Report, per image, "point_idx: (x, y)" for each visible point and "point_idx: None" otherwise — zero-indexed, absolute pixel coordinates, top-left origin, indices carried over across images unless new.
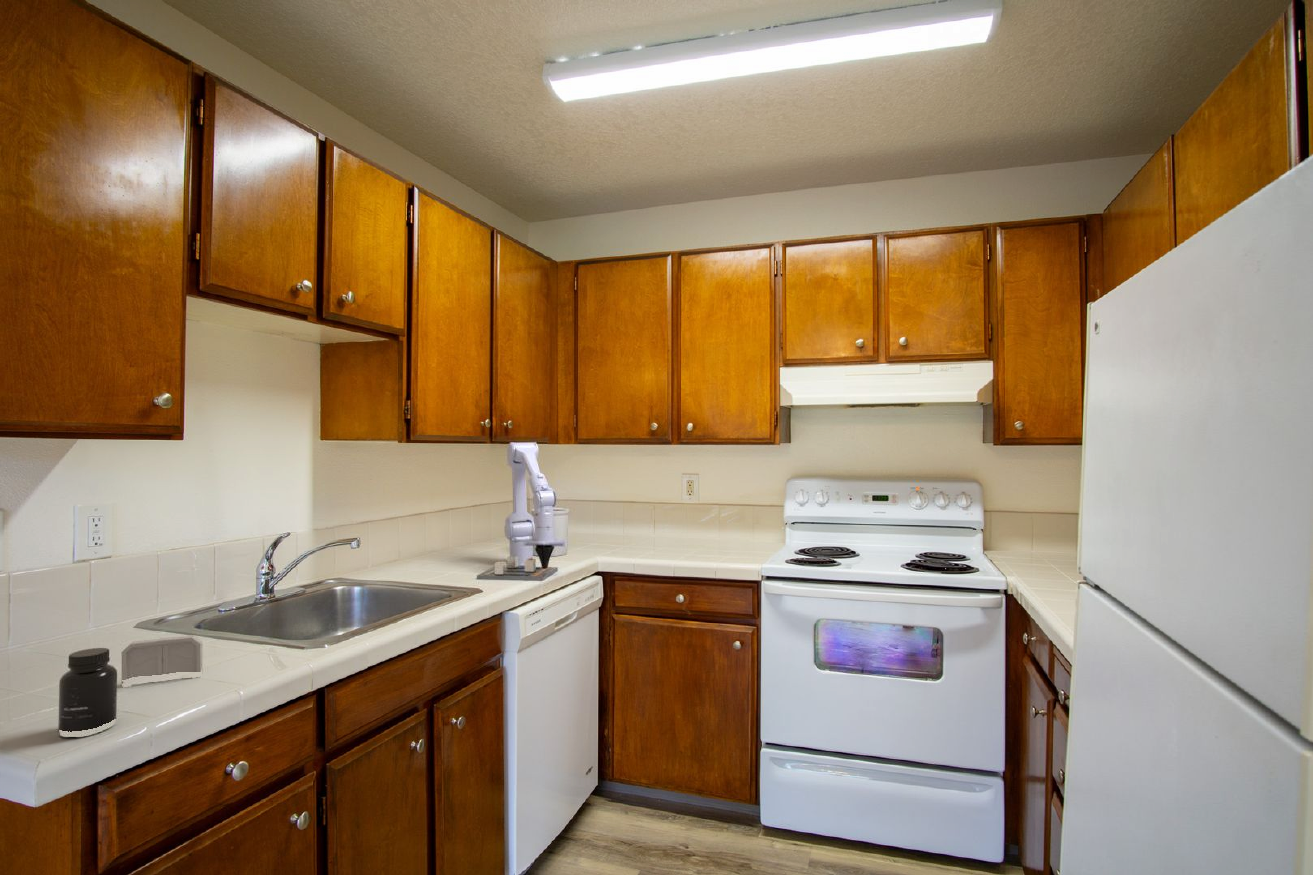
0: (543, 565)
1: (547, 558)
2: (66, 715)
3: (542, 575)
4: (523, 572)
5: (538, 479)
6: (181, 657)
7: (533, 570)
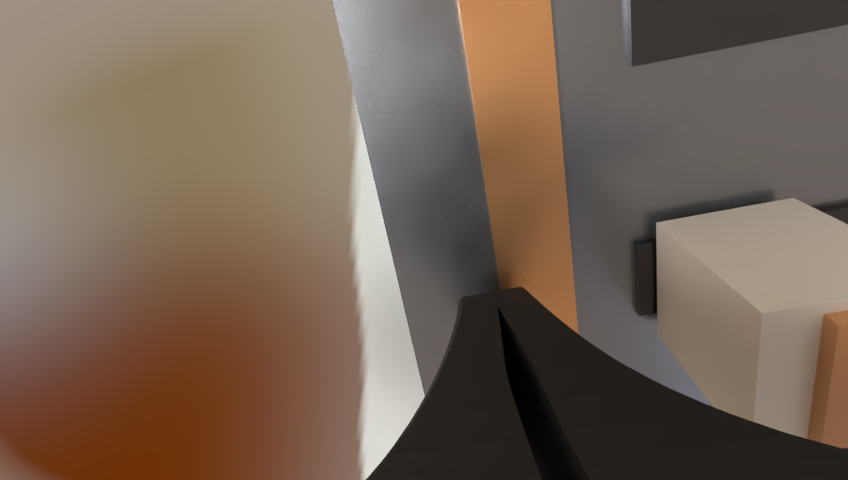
0: (500, 305)
1: (425, 403)
2: None
3: (390, 45)
4: (797, 173)
5: None
6: None
7: (660, 251)
